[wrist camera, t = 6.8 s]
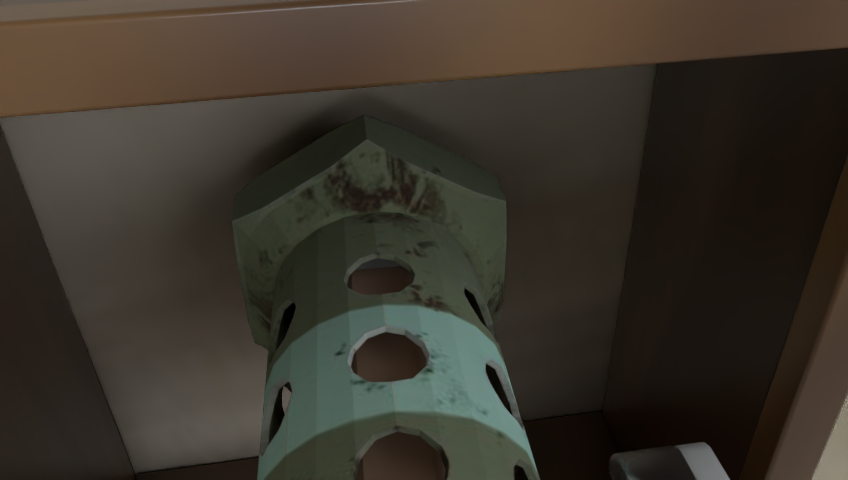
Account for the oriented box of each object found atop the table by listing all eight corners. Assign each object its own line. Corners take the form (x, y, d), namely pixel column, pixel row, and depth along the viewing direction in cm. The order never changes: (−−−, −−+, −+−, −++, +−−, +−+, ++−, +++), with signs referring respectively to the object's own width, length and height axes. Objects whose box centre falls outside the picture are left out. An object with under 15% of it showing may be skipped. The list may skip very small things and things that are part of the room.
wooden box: (730, -128, 14) (1037, -49, 8) (625, 426, 23) (739, 654, 17) (-135, -82, 12) (-518, 58, 7) (111, 497, 21) (42, 777, 15)
